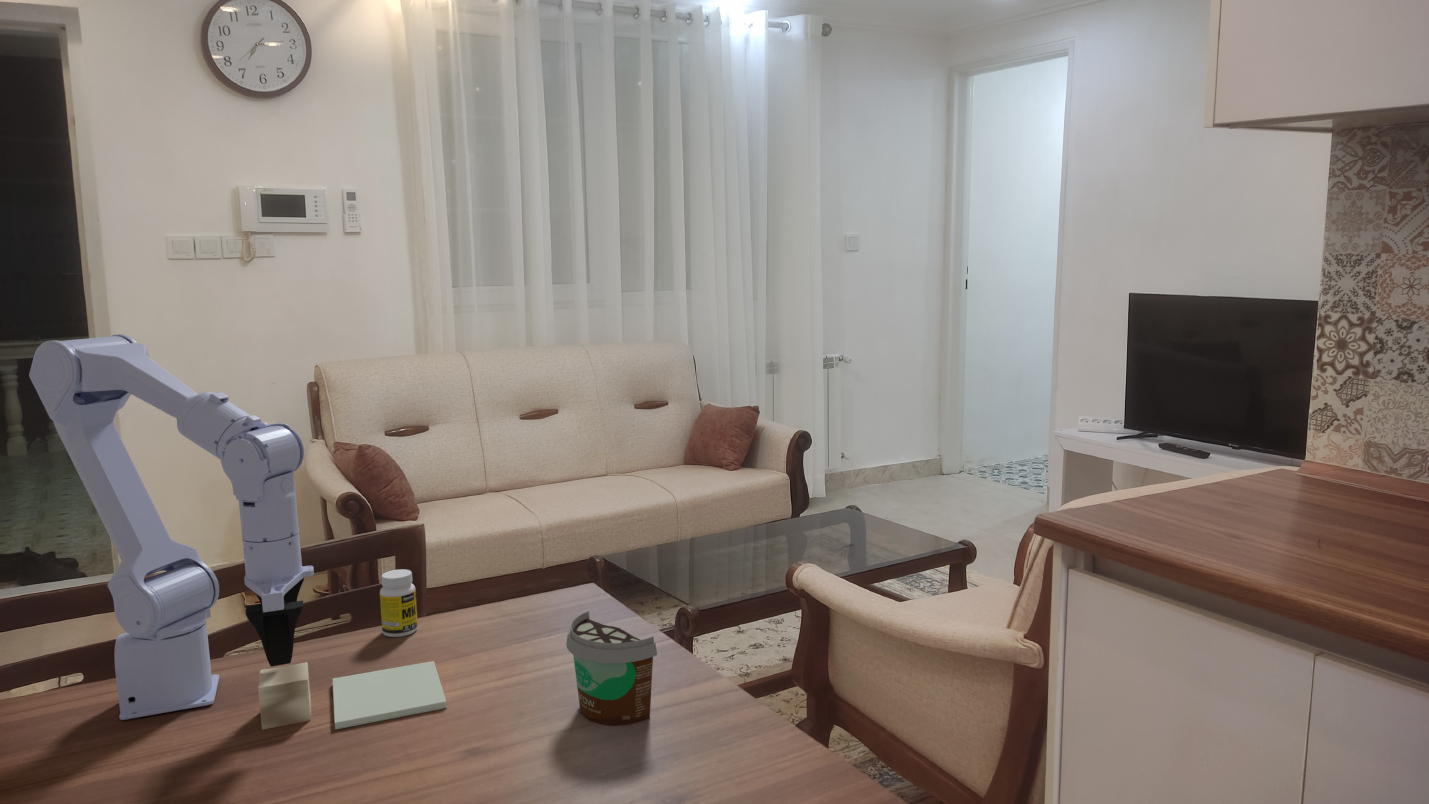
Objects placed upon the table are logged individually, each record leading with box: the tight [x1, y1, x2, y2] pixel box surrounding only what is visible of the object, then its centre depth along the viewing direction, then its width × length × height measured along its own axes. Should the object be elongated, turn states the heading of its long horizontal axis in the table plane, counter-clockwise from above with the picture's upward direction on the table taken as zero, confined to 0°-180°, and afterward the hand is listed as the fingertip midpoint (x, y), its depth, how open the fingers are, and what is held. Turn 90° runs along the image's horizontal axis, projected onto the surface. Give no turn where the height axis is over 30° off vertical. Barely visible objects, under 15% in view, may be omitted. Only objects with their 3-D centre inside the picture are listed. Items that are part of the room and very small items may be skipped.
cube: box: [257, 661, 312, 730], centre depth 106 cm, size 5×5×5 cm
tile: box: [332, 660, 448, 730], centre depth 111 cm, size 12×12×1 cm
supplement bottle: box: [379, 568, 419, 638], centre depth 129 cm, size 5×5×8 cm
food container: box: [565, 610, 658, 727], centre depth 105 cm, size 12×6×10 cm, turn 47°
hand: (281, 650), depth 105 cm, fingers open, 7 cm apart
